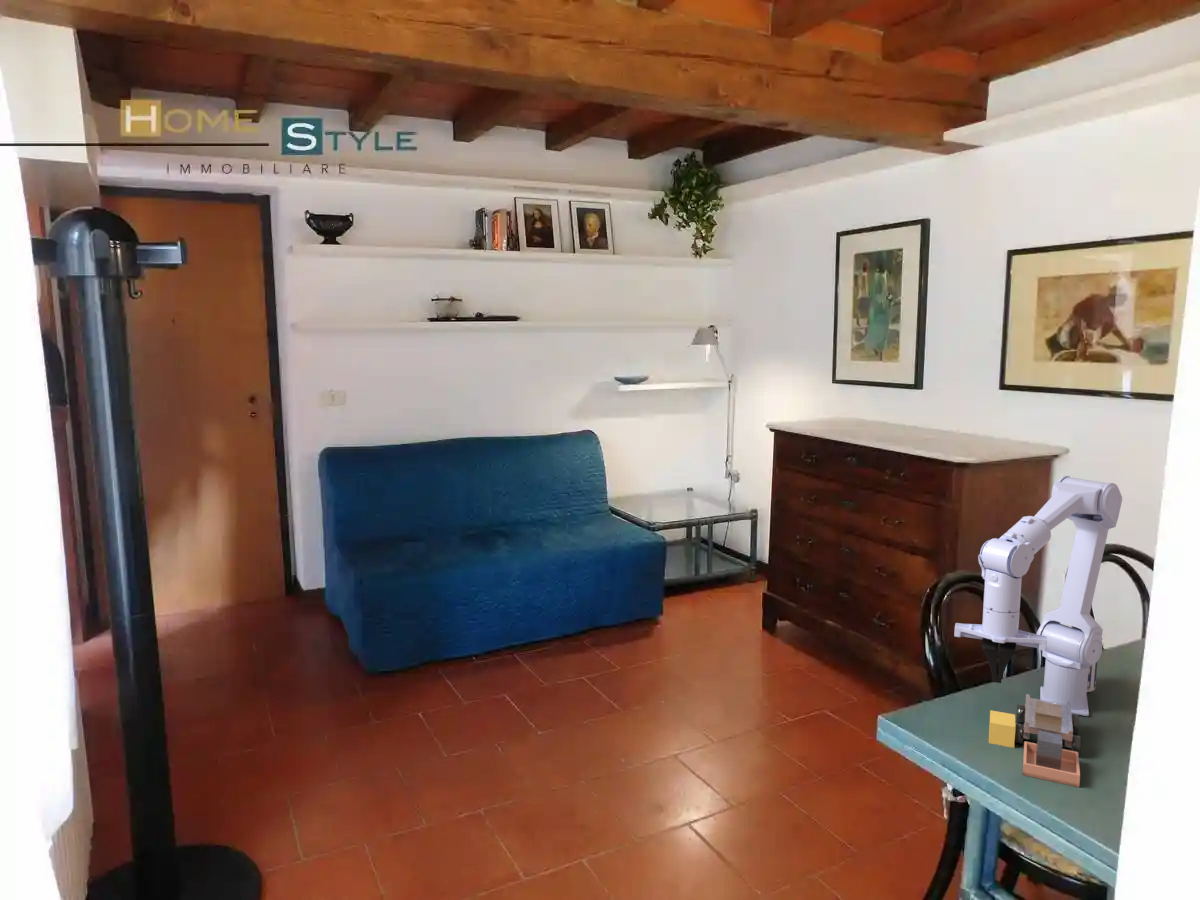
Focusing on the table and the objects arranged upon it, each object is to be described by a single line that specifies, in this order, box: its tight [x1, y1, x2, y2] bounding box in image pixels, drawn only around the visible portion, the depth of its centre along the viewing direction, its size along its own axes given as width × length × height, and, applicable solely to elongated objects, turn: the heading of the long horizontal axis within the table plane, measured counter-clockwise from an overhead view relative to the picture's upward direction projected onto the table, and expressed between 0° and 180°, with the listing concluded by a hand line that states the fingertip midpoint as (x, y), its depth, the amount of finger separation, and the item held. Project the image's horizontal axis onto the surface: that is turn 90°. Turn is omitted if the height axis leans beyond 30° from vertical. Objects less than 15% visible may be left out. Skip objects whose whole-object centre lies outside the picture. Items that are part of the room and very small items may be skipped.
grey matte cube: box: [1036, 731, 1063, 770], centre depth 135 cm, size 4×4×5 cm
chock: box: [988, 709, 1016, 749], centre depth 145 cm, size 5×4×4 cm
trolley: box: [1014, 693, 1082, 757], centre depth 145 cm, size 12×10×6 cm
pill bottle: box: [1087, 660, 1099, 693], centre depth 164 cm, size 5×5×10 cm
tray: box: [1022, 740, 1081, 788], centre depth 135 cm, size 8×8×2 cm
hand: (996, 680), depth 145 cm, fingers closed
